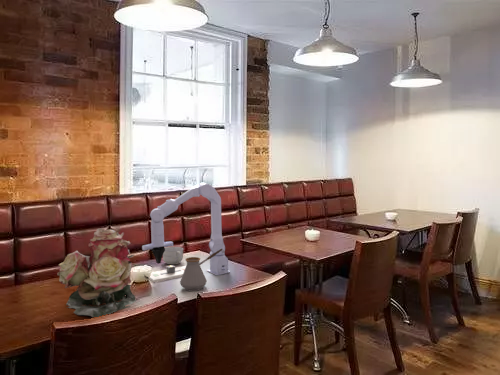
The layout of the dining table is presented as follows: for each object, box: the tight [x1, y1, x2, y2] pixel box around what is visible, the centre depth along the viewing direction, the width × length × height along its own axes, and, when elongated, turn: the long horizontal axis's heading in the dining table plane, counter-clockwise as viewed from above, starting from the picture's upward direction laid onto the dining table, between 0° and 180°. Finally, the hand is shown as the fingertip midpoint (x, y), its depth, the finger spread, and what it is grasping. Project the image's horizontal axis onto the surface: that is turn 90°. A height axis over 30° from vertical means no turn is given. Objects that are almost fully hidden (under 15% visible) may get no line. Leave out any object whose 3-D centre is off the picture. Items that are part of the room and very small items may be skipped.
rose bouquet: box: [57, 227, 138, 318], centre depth 158 cm, size 26×29×30 cm
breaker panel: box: [149, 265, 186, 283], centre depth 196 cm, size 12×22×1 cm, turn 125°
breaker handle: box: [166, 264, 176, 273], centre depth 196 cm, size 3×3×3 cm
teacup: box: [162, 246, 184, 265], centre depth 215 cm, size 14×11×8 cm
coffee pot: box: [179, 249, 225, 292], centre depth 180 cm, size 21×12×15 cm, turn 127°
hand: (158, 263), depth 192 cm, fingers closed
